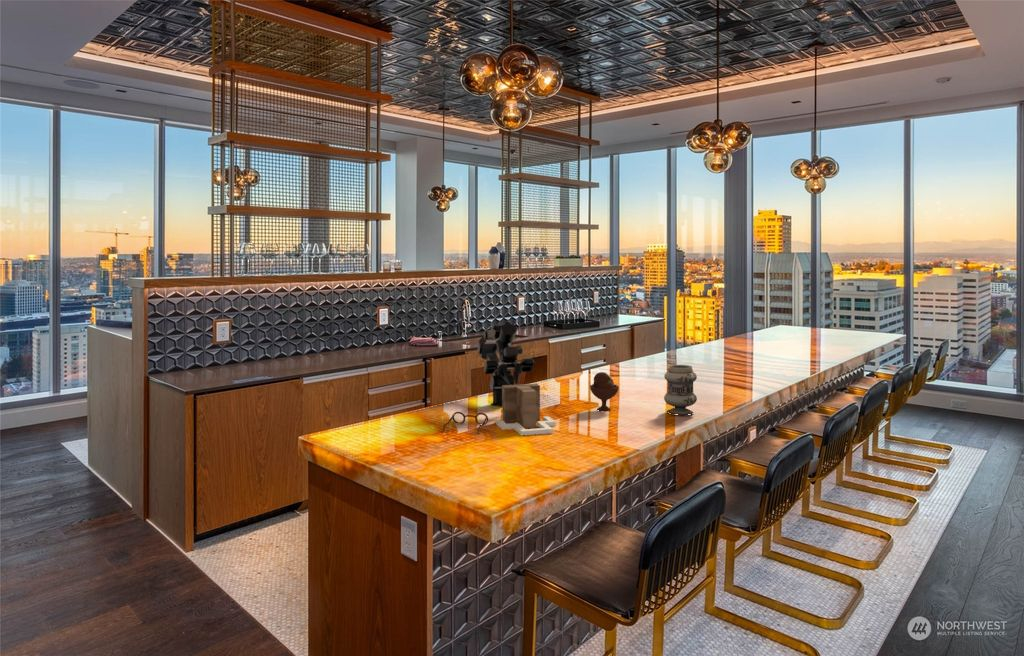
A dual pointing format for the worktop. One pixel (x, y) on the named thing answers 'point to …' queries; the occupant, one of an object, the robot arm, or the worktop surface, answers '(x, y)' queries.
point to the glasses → (468, 416)
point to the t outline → (522, 431)
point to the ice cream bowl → (603, 389)
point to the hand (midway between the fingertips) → (513, 384)
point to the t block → (521, 404)
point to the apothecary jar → (680, 389)
